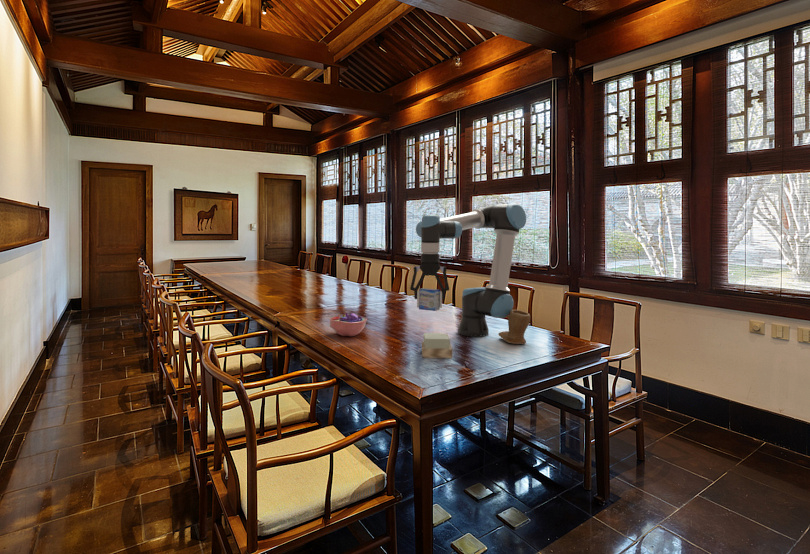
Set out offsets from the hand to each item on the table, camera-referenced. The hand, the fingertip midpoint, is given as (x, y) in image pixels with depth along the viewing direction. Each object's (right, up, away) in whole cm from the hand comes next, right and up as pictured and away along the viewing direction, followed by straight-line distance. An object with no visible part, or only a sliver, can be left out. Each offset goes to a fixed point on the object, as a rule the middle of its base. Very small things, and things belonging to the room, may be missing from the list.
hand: (429, 307), depth 188 cm
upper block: (+3, -16, 0) cm, 16 cm away
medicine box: (0, -1, 0) cm, 1 cm away
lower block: (+3, -20, 0) cm, 20 cm away
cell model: (-38, -16, +32) cm, 52 cm away
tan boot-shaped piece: (+41, -18, +22) cm, 50 cm away
